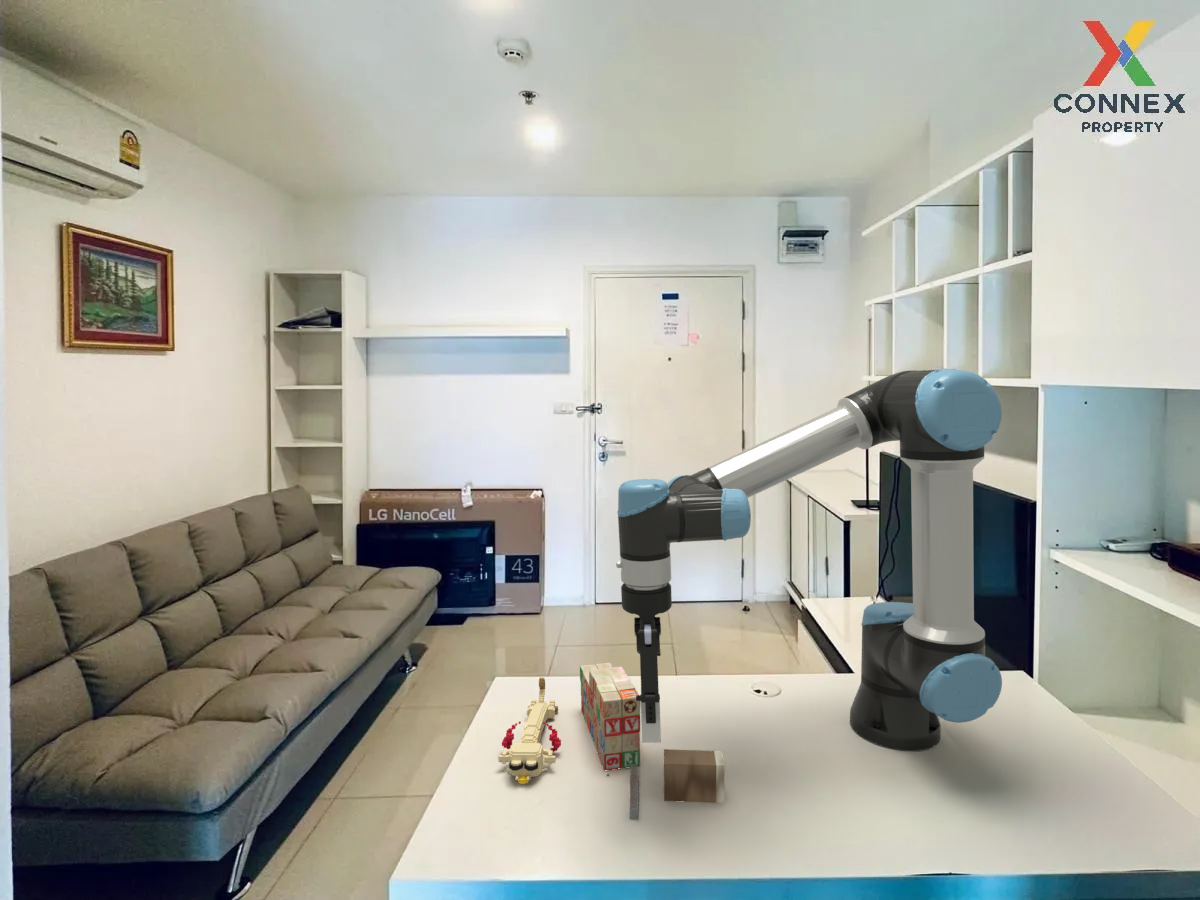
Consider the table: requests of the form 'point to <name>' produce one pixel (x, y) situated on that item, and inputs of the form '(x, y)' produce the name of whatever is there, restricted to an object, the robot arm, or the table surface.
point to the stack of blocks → (611, 714)
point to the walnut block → (693, 776)
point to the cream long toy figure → (531, 741)
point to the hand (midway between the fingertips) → (650, 717)
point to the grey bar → (634, 792)
